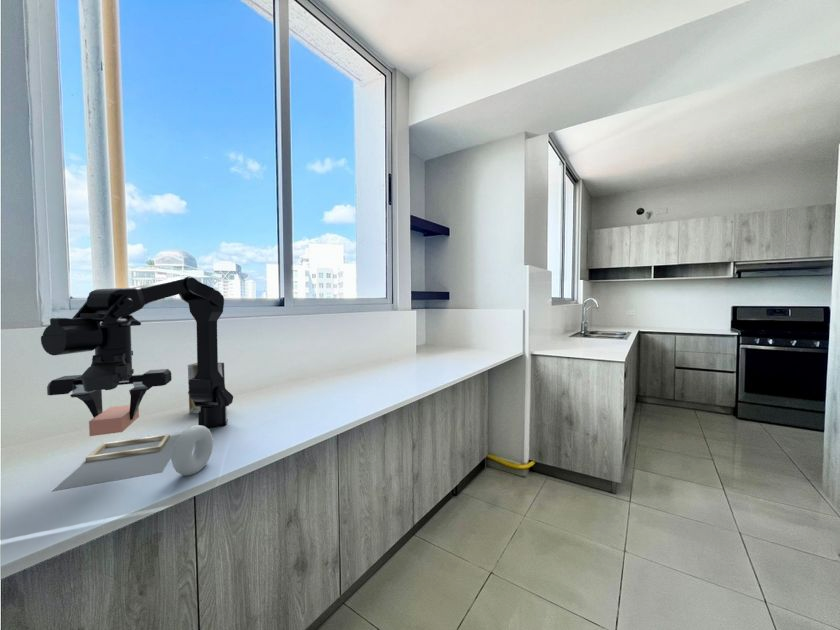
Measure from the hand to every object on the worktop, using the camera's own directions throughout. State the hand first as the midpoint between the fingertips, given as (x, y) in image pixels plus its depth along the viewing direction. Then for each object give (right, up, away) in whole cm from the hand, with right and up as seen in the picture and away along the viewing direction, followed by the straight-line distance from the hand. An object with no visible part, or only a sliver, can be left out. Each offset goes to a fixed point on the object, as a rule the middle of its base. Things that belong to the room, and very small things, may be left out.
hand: (116, 421), depth 71 cm
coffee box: (-7, -10, +41) cm, 42 cm away
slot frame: (-6, -11, +10) cm, 16 cm away
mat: (-2, -11, +6) cm, 12 cm away
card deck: (0, -1, 0) cm, 1 cm away
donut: (+17, -11, 0) cm, 20 cm away
